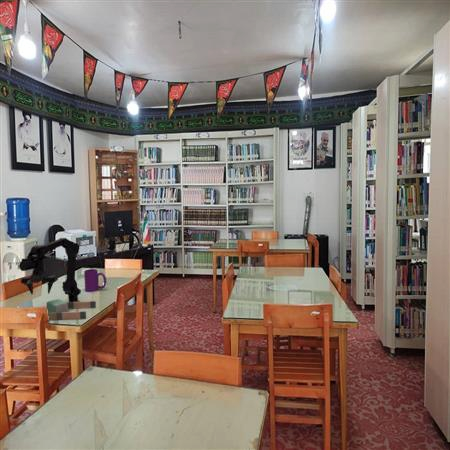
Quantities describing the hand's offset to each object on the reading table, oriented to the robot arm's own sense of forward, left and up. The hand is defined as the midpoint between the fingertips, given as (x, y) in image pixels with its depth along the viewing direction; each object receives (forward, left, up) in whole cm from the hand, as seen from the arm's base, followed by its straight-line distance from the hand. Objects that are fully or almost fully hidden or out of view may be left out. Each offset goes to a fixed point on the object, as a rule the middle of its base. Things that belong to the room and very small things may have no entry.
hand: (40, 293), depth 206 cm
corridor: (-1, +16, -13) cm, 20 cm away
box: (-2, +9, -13) cm, 16 cm away
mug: (-51, +17, -13) cm, 55 cm away
